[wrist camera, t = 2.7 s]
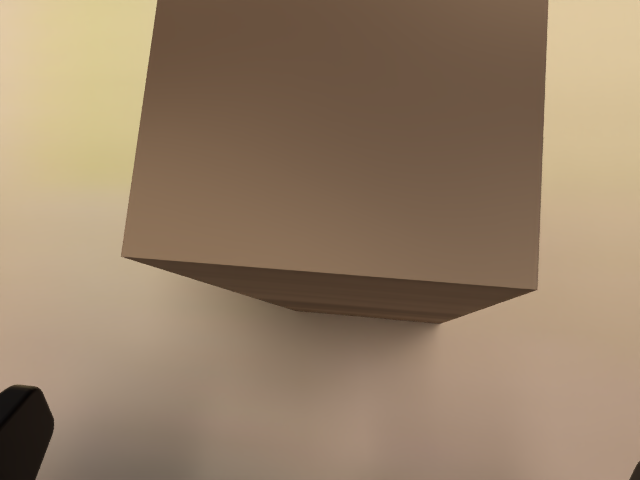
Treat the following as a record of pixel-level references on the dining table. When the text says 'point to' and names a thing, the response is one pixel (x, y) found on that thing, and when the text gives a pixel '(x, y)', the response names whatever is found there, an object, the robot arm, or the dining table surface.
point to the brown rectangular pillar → (345, 152)
